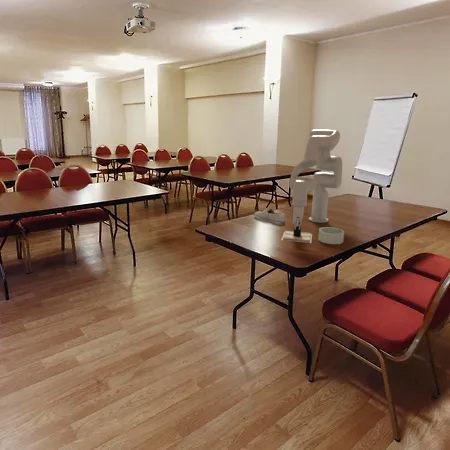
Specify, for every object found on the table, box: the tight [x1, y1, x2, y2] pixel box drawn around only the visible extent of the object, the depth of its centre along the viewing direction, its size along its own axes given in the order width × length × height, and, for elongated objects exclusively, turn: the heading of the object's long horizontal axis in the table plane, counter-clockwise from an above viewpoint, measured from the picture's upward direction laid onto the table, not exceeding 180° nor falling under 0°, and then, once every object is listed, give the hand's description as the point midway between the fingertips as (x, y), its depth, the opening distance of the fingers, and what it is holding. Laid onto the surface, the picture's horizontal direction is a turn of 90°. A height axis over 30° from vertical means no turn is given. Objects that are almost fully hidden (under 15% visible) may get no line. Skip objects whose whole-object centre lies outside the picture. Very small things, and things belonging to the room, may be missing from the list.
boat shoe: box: [253, 207, 286, 226], centre depth 239 cm, size 25×9×9 cm, turn 37°
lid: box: [282, 225, 311, 243], centre depth 204 cm, size 14×14×6 cm
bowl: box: [318, 226, 345, 245], centre depth 200 cm, size 13×13×6 cm
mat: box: [280, 231, 313, 244], centre depth 205 cm, size 16×16×1 cm
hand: (297, 234), depth 205 cm, fingers closed on lid, 4 cm apart
